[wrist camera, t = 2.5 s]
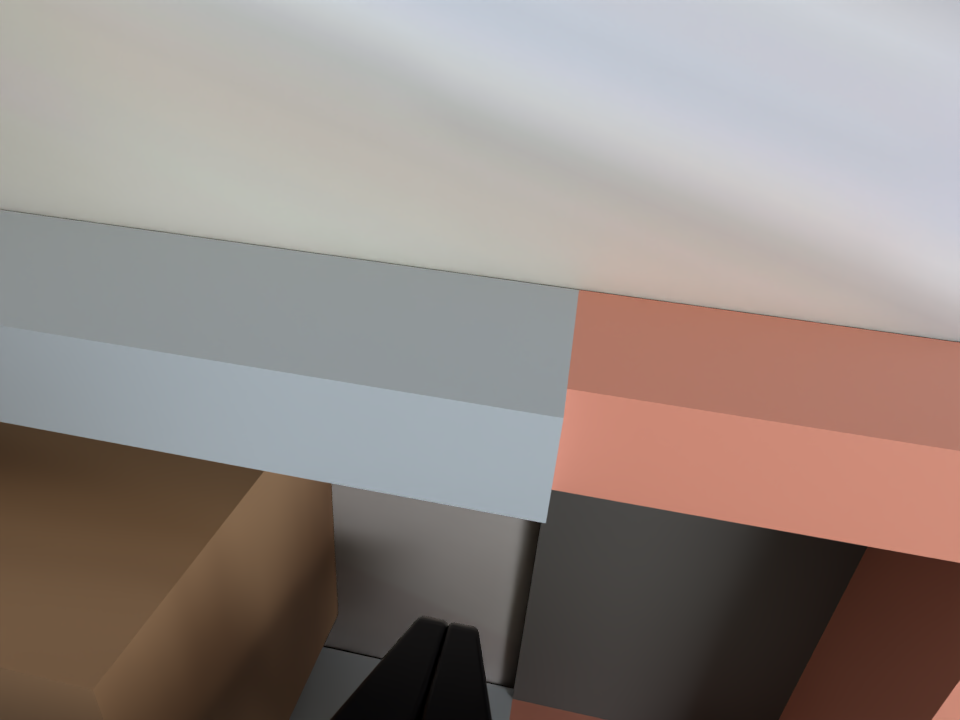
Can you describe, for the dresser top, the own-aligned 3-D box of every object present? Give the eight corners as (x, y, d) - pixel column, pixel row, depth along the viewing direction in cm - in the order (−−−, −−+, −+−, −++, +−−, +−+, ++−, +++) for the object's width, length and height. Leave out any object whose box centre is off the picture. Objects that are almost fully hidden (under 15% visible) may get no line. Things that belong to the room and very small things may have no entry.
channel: (507, 726, 12) (480, 911, 10) (-21, 605, 14) (-166, 737, 11) (578, 289, 8) (563, 418, 5) (-216, 179, 9) (-532, 238, 7)
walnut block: (339, 611, 12) (185, 943, 8) (103, 560, 13) (-165, 841, 8) (328, 388, 10) (93, 688, 5) (37, 340, 10) (-391, 572, 6)
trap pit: (795, 792, 12) (836, 964, 10) (507, 726, 12) (486, 873, 10) (1052, 355, 7) (1242, 495, 5) (578, 289, 8) (566, 389, 6)
